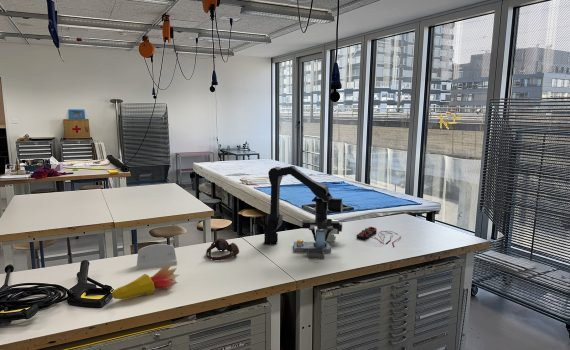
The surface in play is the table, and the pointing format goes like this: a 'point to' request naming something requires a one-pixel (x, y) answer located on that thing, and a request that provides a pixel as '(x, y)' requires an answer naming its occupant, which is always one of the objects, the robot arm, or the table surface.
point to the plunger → (299, 242)
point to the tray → (315, 253)
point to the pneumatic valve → (334, 231)
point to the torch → (147, 284)
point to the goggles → (223, 249)
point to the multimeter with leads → (370, 232)
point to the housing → (311, 247)
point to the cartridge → (320, 238)
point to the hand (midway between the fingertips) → (320, 241)
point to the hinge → (156, 256)
